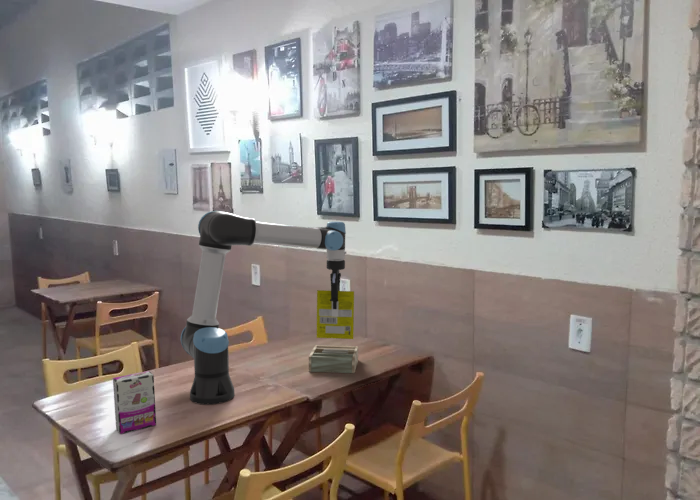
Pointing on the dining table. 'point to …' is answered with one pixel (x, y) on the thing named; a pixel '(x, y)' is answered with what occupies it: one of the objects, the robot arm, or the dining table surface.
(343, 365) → the rack
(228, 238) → the robot arm
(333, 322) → the food package
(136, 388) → the candy bar box
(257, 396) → the dining table surface
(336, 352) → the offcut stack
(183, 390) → the dining table surface
